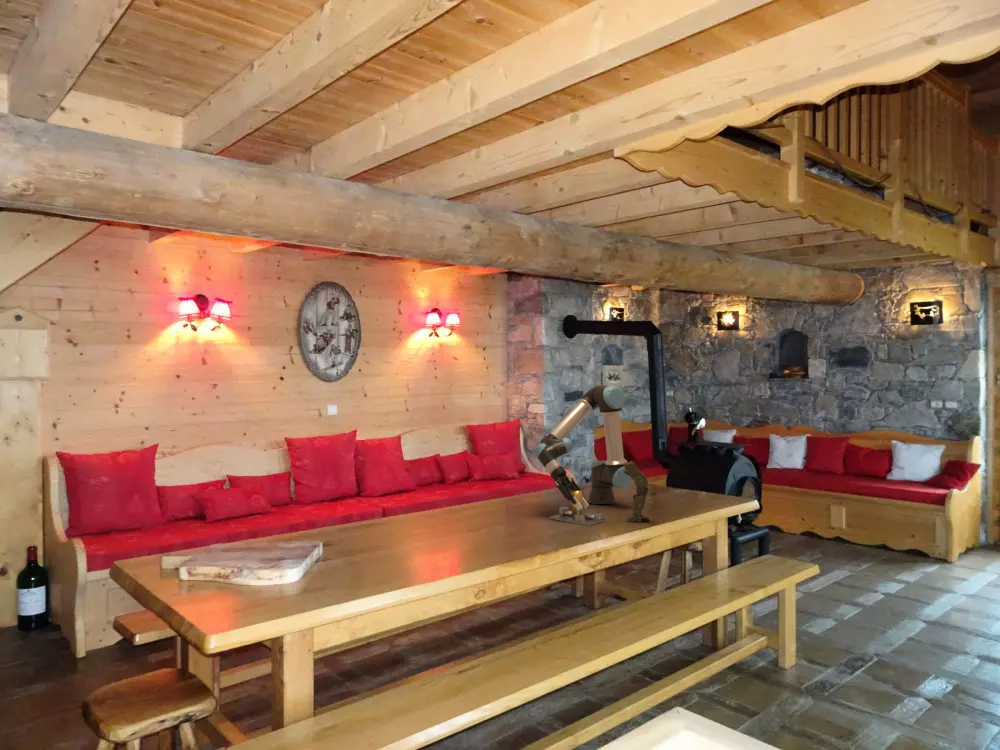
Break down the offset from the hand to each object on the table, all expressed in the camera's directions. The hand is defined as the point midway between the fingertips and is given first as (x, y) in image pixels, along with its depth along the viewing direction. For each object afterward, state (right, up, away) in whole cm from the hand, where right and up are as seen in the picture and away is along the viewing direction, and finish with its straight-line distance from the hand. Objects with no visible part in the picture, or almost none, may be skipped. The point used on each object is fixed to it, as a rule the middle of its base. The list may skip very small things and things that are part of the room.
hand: (583, 508), depth 341 cm
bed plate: (-3, -6, +2) cm, 7 cm away
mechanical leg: (+26, -7, +1) cm, 26 cm away
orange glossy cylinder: (-3, -3, +2) cm, 5 cm away
